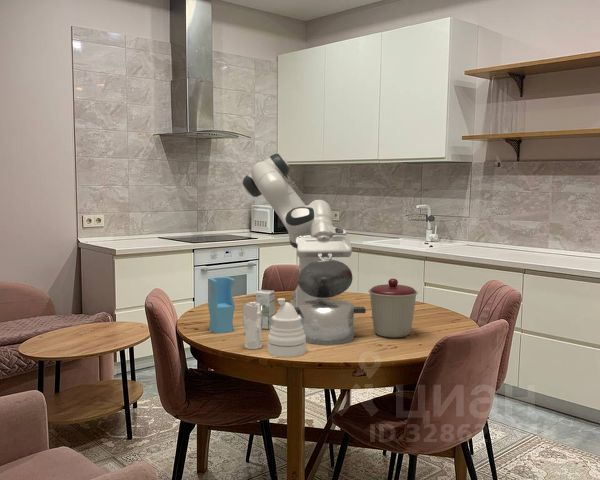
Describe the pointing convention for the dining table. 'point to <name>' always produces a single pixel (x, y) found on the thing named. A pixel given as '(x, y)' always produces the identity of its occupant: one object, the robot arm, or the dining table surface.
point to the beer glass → (253, 324)
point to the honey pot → (286, 332)
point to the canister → (392, 309)
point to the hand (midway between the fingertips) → (325, 265)
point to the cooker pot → (328, 321)
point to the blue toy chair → (221, 305)
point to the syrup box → (266, 306)
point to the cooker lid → (325, 278)
